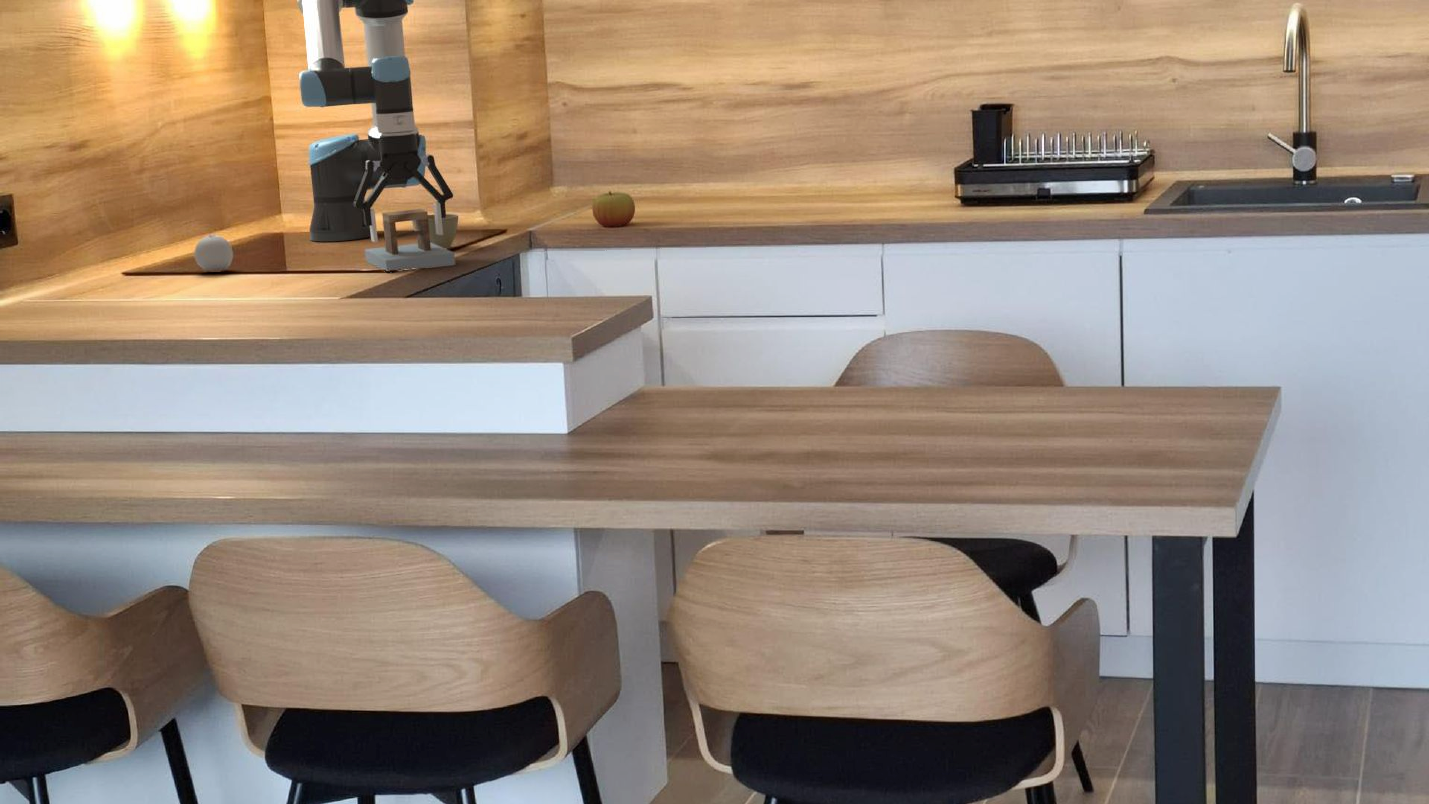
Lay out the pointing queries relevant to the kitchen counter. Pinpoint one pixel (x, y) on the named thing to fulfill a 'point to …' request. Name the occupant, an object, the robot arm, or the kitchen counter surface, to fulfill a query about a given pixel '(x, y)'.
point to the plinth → (410, 257)
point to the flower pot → (448, 230)
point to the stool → (421, 232)
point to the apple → (613, 209)
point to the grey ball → (213, 253)
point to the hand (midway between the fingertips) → (407, 237)
